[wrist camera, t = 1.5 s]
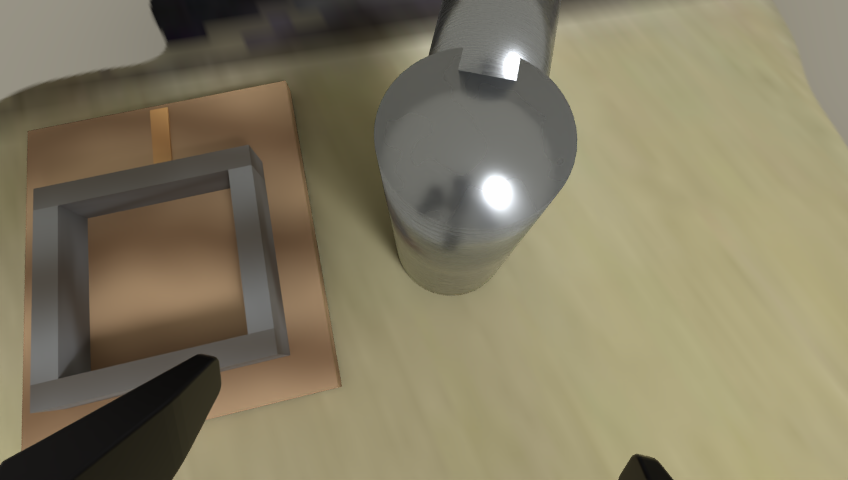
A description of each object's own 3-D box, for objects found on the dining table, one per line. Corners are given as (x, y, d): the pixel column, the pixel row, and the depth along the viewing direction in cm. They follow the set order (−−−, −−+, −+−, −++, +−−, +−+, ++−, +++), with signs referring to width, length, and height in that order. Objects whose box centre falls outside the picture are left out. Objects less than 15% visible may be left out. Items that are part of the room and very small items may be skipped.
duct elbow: (493, 306, 23) (566, 246, 12) (386, 282, 24) (350, 201, 12) (521, 143, 26) (602, -38, 14) (424, 124, 26) (426, -68, 15)
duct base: (341, 386, 22) (329, 389, 19) (39, 460, 21) (-21, 476, 18) (290, 90, 27) (274, 57, 24) (42, 139, 26) (-5, 111, 23)
